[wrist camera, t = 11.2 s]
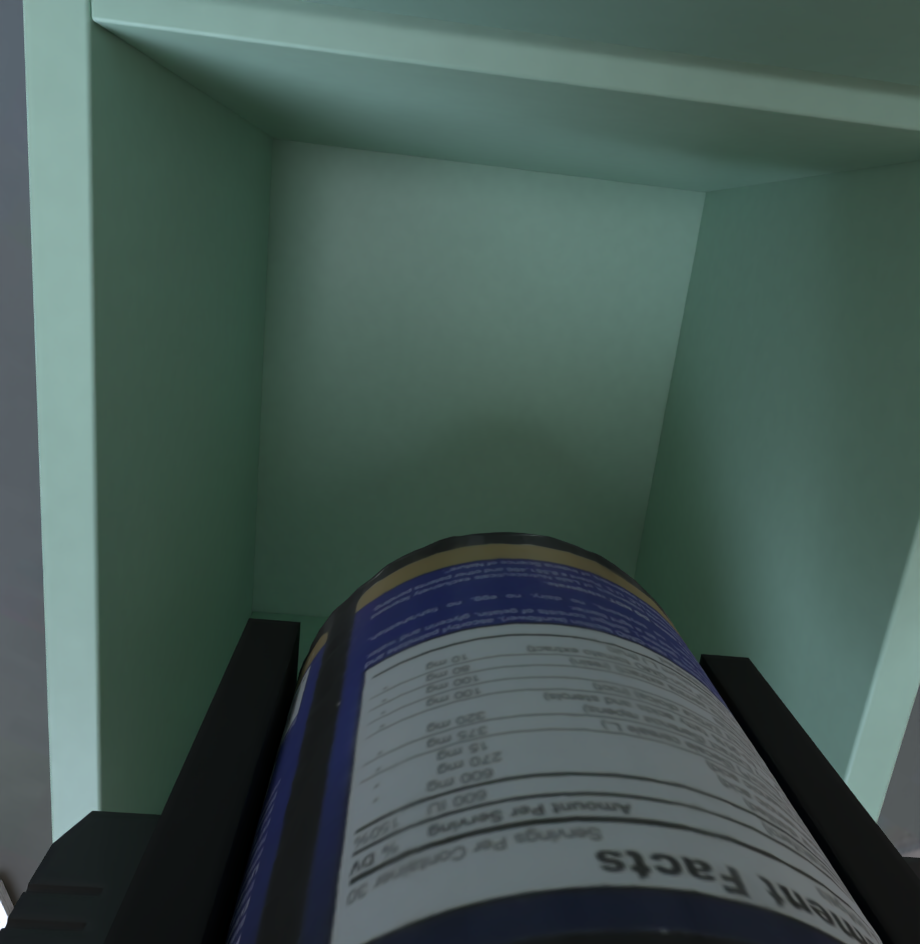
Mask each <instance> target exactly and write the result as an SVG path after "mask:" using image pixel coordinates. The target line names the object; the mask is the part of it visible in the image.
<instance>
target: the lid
mask: <svg viewBox="0 0 920 944" xmlns="http://www.w3.org/2000/svg"><path fill="white" fill-rule="evenodd" d="M298 1H305V2H312V3H319V4H327V5H334V6H341V7H348V8H356V9H363V10H370V11H378V12H385V13H392V14H399V15H407V16H414V17H421V18H428V19H436V20H443V21H450V22H458V23H465V24H472V25H479V26H487V27H494V28H501V29H508V30H516V31H523V32H530V33H538V34H545V35H552V36H559V37H567V38H574V39H581V40H588V41H596V42H603V43H610V44H618V45H625V46H632V47H639V48H647V49H654V50H661V51H668V52H676V53H683V54H690V55H698V56H705V57H712V58H719V59H727V60H734V61H741V62H748V63H756V64H763V65H770V66H778V67H785V68H792V69H799V70H807V71H814V72H821V73H828V74H836V75H843V76H850V77H858V78H865V79H872V80H879V81H887V82H894V83H901V84H908V85H916V86H920V0H298Z"/></svg>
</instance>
